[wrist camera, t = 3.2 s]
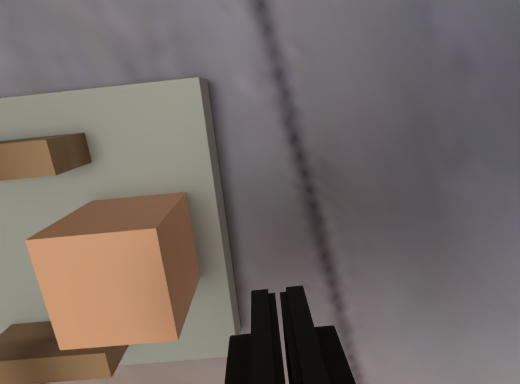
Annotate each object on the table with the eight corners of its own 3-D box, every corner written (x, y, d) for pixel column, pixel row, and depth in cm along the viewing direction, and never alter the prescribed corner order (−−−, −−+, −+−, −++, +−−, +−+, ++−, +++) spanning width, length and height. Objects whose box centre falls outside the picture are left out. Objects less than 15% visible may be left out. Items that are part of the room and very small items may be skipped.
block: (185, 191, 17) (155, 228, 12) (200, 277, 18) (178, 340, 13) (91, 200, 17) (24, 240, 12) (112, 284, 18) (59, 350, 14)
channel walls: (84, 132, 16) (45, 139, 13) (133, 336, 19) (111, 377, 16) (-52, 146, 16) (-120, 156, 13) (19, 345, 20) (-23, 387, 17)
